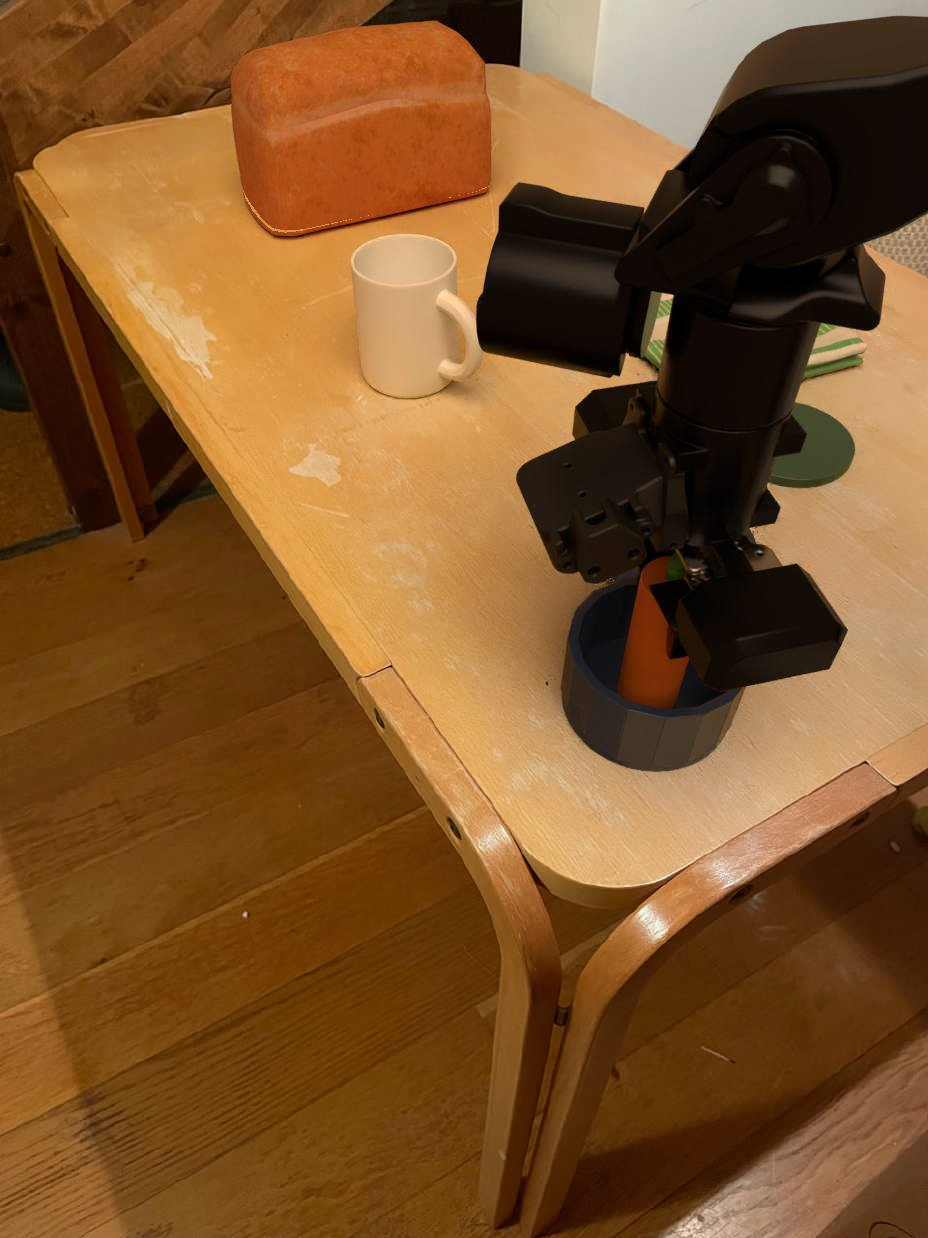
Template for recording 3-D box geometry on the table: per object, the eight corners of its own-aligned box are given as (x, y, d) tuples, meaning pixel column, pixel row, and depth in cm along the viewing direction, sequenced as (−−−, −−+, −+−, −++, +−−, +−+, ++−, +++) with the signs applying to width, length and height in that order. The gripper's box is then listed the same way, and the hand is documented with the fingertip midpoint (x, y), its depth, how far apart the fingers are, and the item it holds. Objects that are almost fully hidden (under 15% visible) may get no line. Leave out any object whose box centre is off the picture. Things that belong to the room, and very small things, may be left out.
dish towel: (717, 246, 91) (722, 220, 89) (868, 366, 77) (879, 338, 75) (561, 282, 87) (564, 255, 85) (692, 416, 73) (699, 388, 71)
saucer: (852, 419, 73) (855, 411, 72) (851, 498, 66) (855, 490, 66) (727, 399, 74) (729, 390, 74) (715, 474, 68) (717, 466, 68)
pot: (737, 654, 57) (758, 596, 53) (721, 790, 50) (744, 736, 46) (579, 620, 59) (587, 562, 54) (545, 748, 52) (551, 692, 48)
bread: (235, 194, 100) (203, 31, 88) (447, 150, 107) (444, -5, 95) (274, 247, 92) (245, 76, 80) (500, 196, 99) (505, 32, 87)
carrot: (680, 677, 55) (721, 538, 46) (672, 724, 52) (714, 588, 44) (621, 664, 55) (651, 525, 46) (611, 710, 53) (641, 573, 44)
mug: (510, 386, 76) (516, 271, 68) (445, 432, 72) (443, 315, 64) (408, 335, 81) (402, 223, 73) (341, 375, 77) (327, 260, 69)
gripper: (483, 301, 42) (480, 539, 54) (622, 580, 30) (578, 806, 42) (702, 272, 44) (652, 509, 56) (914, 526, 32) (793, 758, 44)
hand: (663, 629), depth 49 cm, fingers closed on carrot, 3 cm apart
